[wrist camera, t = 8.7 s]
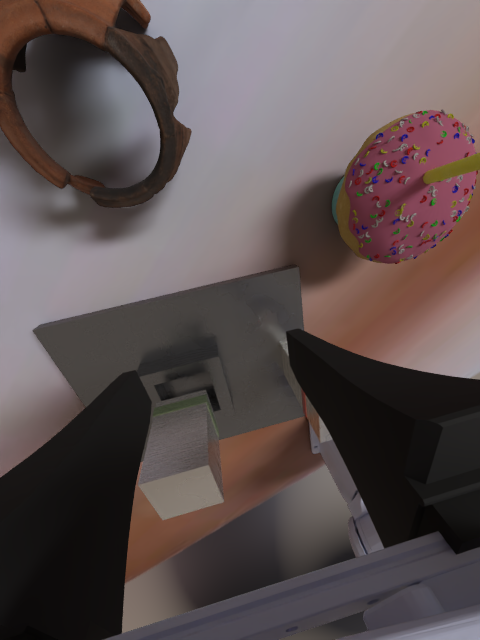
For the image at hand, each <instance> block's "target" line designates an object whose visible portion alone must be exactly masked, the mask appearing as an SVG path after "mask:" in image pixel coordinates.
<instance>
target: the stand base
mask: <svg viewBox="0 0 480 640" xmlns="http://www.w3.org/2000/svg"><path fill="white" fill-rule="evenodd" d="M297 328H299V329H301V330H303V331H304V324H303V311H302V298H301V285H300V272H299V266H297V265H295V264H294V265H290V266H286V267H281V268H277V269H273V270H269V271H265V272H260V273H256V274H252V275H248V276H244V277H239V278H235V279H231V280H227V281H222V282H218V283H214V284H210V285H206V286H201V287H197V288H193V289H189V290H185V291H180V292H176V293H172V294H168V295H163V296H159V297H155V298H151V299H147V300H142V301H138V302H134V303H130V304H126V305H121V306H117V307H113V308H109V309H104V310H100V311H96V312H92V313H88V314H83V315H79V316H75V317H71V318H67V319H62V320H58V321H54V322H50V323H45V324H41V325H39V326H38V327H36V328H35V329H34V330H33V332H34V333H35V335H36V336H37V338H38V339H39V340H40V342H41V343H42V345H43V346H44V348H45V349H46V351H47V352H48V353H49V355H50V356H51V358H52V359H53V361H54V362H55V364H56V365H57V366H58V368H59V369H60V371H61V372H62V374H63V375H64V377H65V378H66V379H67V381H68V382H69V384H70V385H71V387H72V388H73V390H74V391H75V392H76V394H77V395H78V397H79V398H80V400H81V401H82V403H83V404H84V405H85V407H87V406H88V405H89V404H90V403H91V402H92V401H93V400H94V399H95V398H96V397H97V396H98V395H100V394H101V393H102V392H103V391H104V390H105V389H106V388H107V387H108V386H109V385H110V384H111V383H112V382H113V381H114V380H115V379H116V378H117V377H118V376H120V375H121V374H122V373H125V372H129V371H133V370H136V372H137V374H138V375H139V377H140V379H141V381H142V383H143V385H144V387H145V389H146V391H147V393H148V395H149V397H150V399H151V401H152V406H151V417H150V424H149V429H148V433H147V438H146V442H145V446H144V450H143V454H142V458H141V462H142V461H144V456H145V452H146V448H147V443H148V439H149V434H150V430H151V425H152V421H153V412H154V408H155V407H156V403H157V402H160V401H164V400H168V399H171V398H175V397H179V396H183V395H186V394H190V393H194V392H198V391H201V390H205V389H206V392H207V395H208V397H209V400H210V403H211V406H212V409H213V412H214V415H215V418H216V421H217V425H218V429H219V440H221V439H224V438H228V437H232V436H235V435H239V434H242V433H246V432H249V431H253V430H257V429H260V428H264V427H267V426H271V425H274V424H278V423H282V422H285V421H289V420H292V419H296V418H299V417H303V416H306V418H307V419H308V420H309V422H310V424H311V426H312V428H313V430H314V432H315V434H316V436H317V438H318V439H319V441H320V443H322V442H326V441H329V440H333V439H332V437H331V435H330V433H329V431H328V430H327V428H326V426H325V424H324V423H323V421H322V419H321V418H320V416H319V415H318V413H317V412H316V410H315V409H314V407H313V405H312V404H311V402H310V401H309V399H308V398H307V396H306V395H305V393H304V391H303V390H302V388H301V387H300V385H299V383H298V382H297V380H296V378H295V375H294V373H293V371H292V369H291V367H290V362H289V354H288V345H287V337H286V331H290V330H293V329H297Z"/></svg>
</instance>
